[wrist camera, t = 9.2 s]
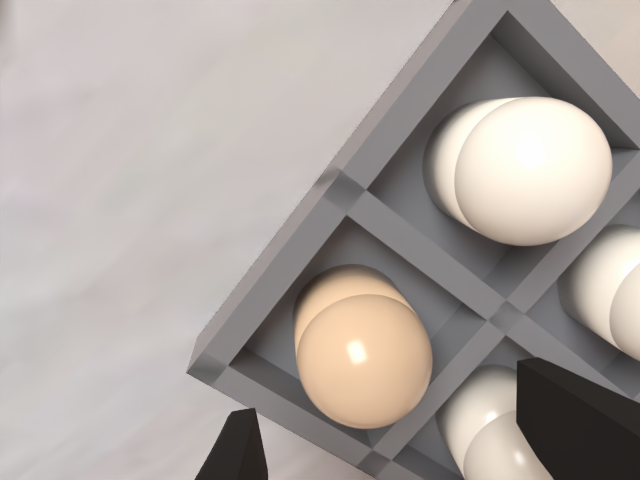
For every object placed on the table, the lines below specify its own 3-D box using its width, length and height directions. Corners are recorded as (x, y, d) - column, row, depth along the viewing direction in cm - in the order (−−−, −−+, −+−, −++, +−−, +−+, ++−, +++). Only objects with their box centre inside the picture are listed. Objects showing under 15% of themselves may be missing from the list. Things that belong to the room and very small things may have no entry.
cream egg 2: (550, 395, 19) (645, 490, 14) (484, 464, 20) (553, 577, 15) (482, 346, 18) (560, 431, 13) (414, 421, 18) (465, 528, 14)
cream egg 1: (560, 151, 16) (687, 167, 11) (481, 243, 16) (568, 296, 12) (479, 72, 15) (580, 52, 10) (397, 175, 15) (455, 202, 11)
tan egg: (400, 256, 16) (454, 316, 11) (406, 357, 17) (456, 448, 13) (285, 273, 16) (291, 341, 11) (299, 374, 17) (311, 474, 12)
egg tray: (728, 248, 19) (792, 267, 16) (479, 502, 21) (505, 550, 19) (469, -20, 14) (507, -46, 12) (197, 337, 17) (186, 372, 15)
